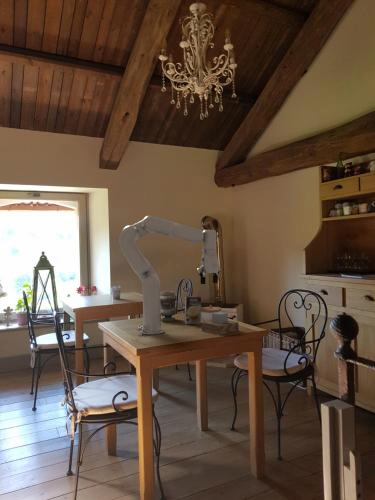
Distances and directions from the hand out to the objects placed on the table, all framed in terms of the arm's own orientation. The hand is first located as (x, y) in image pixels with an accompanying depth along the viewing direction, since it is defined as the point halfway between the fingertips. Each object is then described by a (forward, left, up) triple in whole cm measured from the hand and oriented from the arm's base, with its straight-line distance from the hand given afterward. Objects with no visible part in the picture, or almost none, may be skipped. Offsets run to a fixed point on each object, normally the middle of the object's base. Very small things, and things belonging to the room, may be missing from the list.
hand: (209, 283), depth 212 cm
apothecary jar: (+3, +39, -26) cm, 47 cm away
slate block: (+1, -6, -21) cm, 22 cm away
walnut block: (+1, -6, -26) cm, 27 cm away
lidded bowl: (+12, +10, -26) cm, 30 cm away
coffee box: (+6, +19, -26) cm, 33 cm away
